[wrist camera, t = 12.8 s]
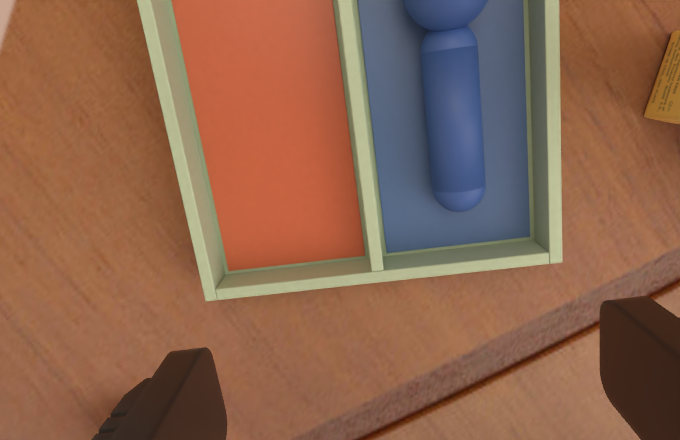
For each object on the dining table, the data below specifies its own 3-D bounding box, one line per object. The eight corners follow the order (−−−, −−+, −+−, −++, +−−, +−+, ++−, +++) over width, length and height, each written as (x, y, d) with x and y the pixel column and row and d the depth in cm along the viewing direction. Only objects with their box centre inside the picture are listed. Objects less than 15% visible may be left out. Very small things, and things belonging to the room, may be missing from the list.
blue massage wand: (494, 200, 23) (513, 221, 20) (419, 208, 24) (426, 230, 20) (480, -61, 20) (500, -90, 17) (395, -46, 21) (398, -71, 17)
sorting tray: (219, 281, 26) (205, 302, 24) (142, -72, 21) (115, -92, 19) (542, 245, 25) (562, 262, 22) (534, -139, 20) (557, -169, 18)
